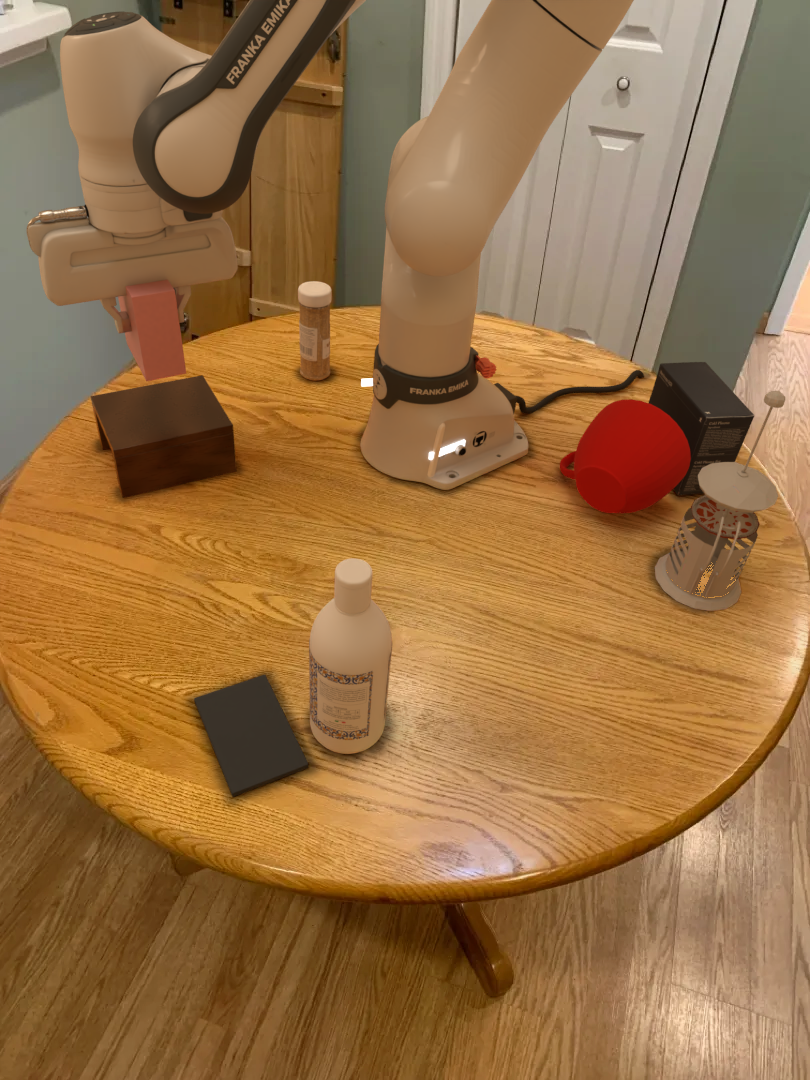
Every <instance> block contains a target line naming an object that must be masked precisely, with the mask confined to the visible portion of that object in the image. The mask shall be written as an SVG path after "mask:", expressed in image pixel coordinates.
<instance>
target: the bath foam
mask: <svg viewBox="0 0 810 1080" xmlns="http://www.w3.org/2000/svg"><path fill="white" fill-rule="evenodd" d="M373 574H374V573H373V568H372V566H371V565H370V563H368V562H367V561H365V560H364V559H361V558H355V557H350V558H346V559H343V560H341V561H340V562H338V563H337V565H336V566H335V569H334V591H333V593H334V597H332V599H330V601H328V602H327V603H326V604H325V605H324V606H323V607H322V608H321V609H320V610H319V611H318V613H317V615H316V617H315V619H314V620H313V623H312V626H311V629H310V634H309V638H308V660H309V661H308V666H309V667H308V672H309V673H308V676H309V677H308V678H309V679H308V681H309V688H308V689H309V725H310V730H311V733H312V735H313V737H314V738H315V740H316V741H317V742H318V743H319V744H320V745H321V746H323V747H324V748H326V749H327V750H329V751H331V752H334V753H336V754H337V753H338V754H345V755H351V754H357V753H361V752H364V751H366V750H368V749H369V748H371V747H372V746H374V745H375V744H376V743H377V742H378V741H379V740H380V738H381V737H382V735H383V732H384V730H385V727H386V717H387V708H388V697H389V688H390V687H389V686H390V677H391V676H390V674H391V664H392V652H393V636H392V630H391V626H390V623H389V620H388V618H387V616H386V614H385V612H384V611H383V610H382V609H381V607H380V606H379V605H378V604H377V603H376V602H375V601H374V600H373V599H372V591H373Z"/></svg>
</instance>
